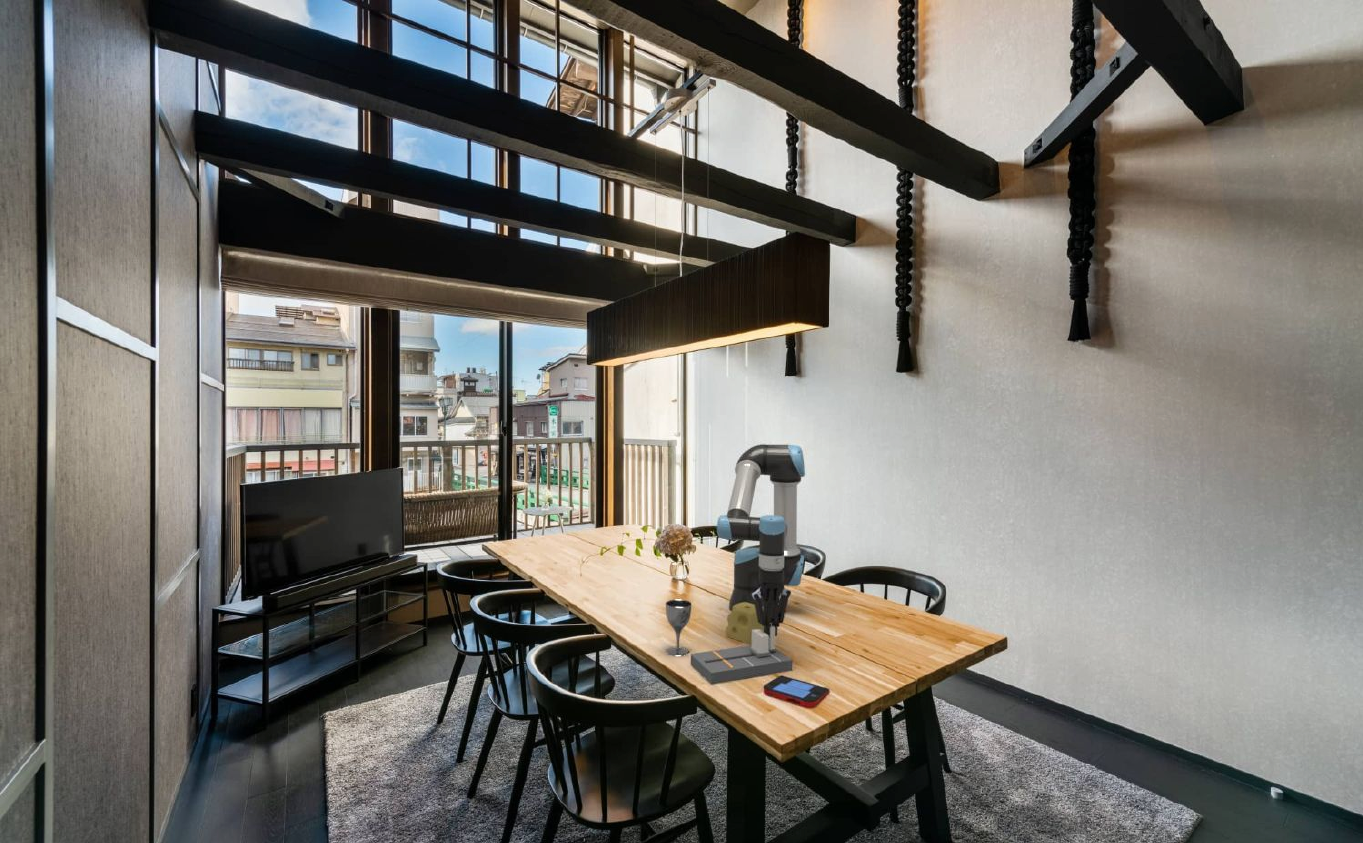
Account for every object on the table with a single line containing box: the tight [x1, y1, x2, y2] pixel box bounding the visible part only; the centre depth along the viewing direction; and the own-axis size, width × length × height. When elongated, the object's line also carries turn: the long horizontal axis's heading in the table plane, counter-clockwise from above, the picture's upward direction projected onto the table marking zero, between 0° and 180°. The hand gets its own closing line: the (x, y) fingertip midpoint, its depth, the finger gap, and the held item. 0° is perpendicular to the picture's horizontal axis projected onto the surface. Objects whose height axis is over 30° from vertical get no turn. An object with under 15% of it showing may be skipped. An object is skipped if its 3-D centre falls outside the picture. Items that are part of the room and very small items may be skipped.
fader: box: [750, 629, 770, 657], centre depth 165 cm, size 4×6×6 cm
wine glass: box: [665, 598, 692, 657], centre depth 174 cm, size 8×8×15 cm
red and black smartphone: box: [763, 674, 830, 709], centre depth 148 cm, size 14×13×2 cm
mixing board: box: [690, 644, 794, 685], centre depth 163 cm, size 26×14×3 cm, turn 113°
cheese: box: [725, 602, 764, 645], centre depth 188 cm, size 10×11×10 cm
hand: (770, 647), depth 167 cm, fingers closed
